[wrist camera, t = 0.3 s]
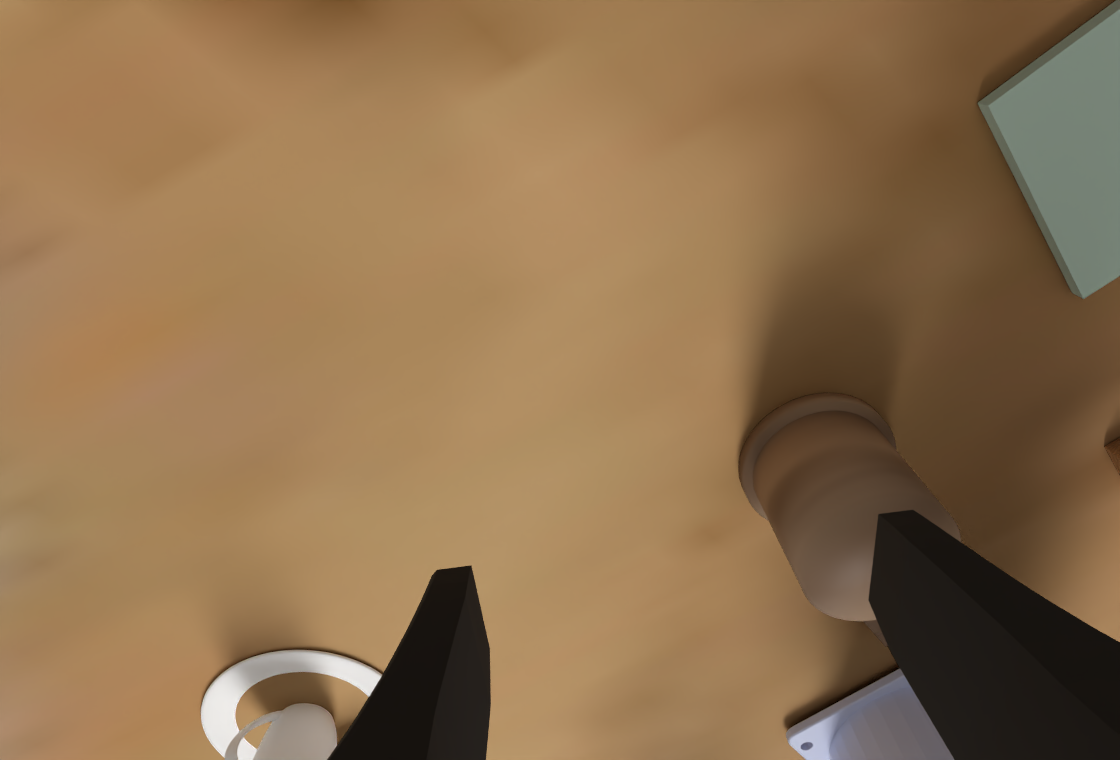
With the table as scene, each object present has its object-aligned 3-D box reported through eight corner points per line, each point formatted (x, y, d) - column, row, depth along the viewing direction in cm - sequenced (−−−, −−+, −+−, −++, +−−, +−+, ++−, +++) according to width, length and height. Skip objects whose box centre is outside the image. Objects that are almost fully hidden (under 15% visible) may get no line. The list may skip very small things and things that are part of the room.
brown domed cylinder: (913, 462, 25) (1001, 566, 20) (787, 541, 26) (844, 653, 22) (842, 363, 23) (922, 454, 18) (709, 453, 24) (754, 558, 20)
